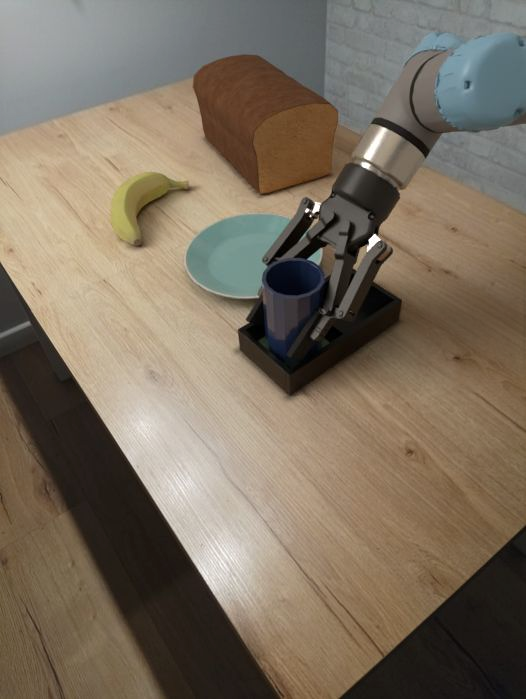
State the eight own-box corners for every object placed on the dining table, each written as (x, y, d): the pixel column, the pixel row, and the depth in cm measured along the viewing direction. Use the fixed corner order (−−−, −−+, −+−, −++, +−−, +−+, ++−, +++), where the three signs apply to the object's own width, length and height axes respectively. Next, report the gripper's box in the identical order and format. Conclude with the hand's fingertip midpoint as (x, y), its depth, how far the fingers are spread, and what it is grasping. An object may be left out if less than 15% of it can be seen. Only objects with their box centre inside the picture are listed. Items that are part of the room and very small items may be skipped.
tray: (398, 321, 73) (402, 300, 70) (290, 396, 65) (289, 375, 62) (345, 285, 79) (347, 264, 76) (239, 350, 71) (237, 329, 68)
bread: (270, 119, 121) (267, 43, 109) (337, 174, 102) (342, 89, 90) (198, 138, 116) (187, 60, 104) (254, 199, 97) (248, 113, 86)
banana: (83, 187, 89) (171, 156, 100) (84, 213, 93) (169, 180, 105) (134, 232, 85) (220, 194, 97) (133, 257, 89) (215, 218, 101)
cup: (333, 348, 69) (338, 278, 60) (291, 376, 66) (290, 307, 57) (296, 319, 73) (296, 250, 64) (255, 344, 70) (249, 275, 61)
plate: (178, 313, 77) (175, 299, 75) (193, 228, 92) (190, 214, 90) (327, 308, 76) (328, 294, 74) (317, 223, 91) (318, 209, 89)
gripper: (457, 224, 57) (343, 389, 63) (330, 160, 68) (243, 305, 74) (436, 199, 51) (312, 384, 57) (300, 133, 62) (208, 293, 68)
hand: (273, 339), depth 65 cm, fingers closed on cup, 7 cm apart
